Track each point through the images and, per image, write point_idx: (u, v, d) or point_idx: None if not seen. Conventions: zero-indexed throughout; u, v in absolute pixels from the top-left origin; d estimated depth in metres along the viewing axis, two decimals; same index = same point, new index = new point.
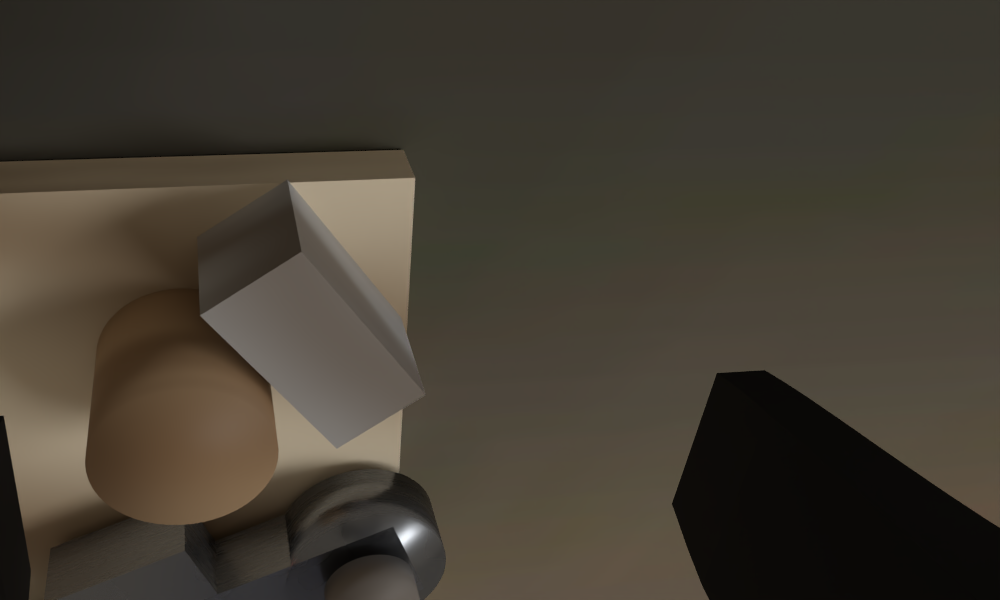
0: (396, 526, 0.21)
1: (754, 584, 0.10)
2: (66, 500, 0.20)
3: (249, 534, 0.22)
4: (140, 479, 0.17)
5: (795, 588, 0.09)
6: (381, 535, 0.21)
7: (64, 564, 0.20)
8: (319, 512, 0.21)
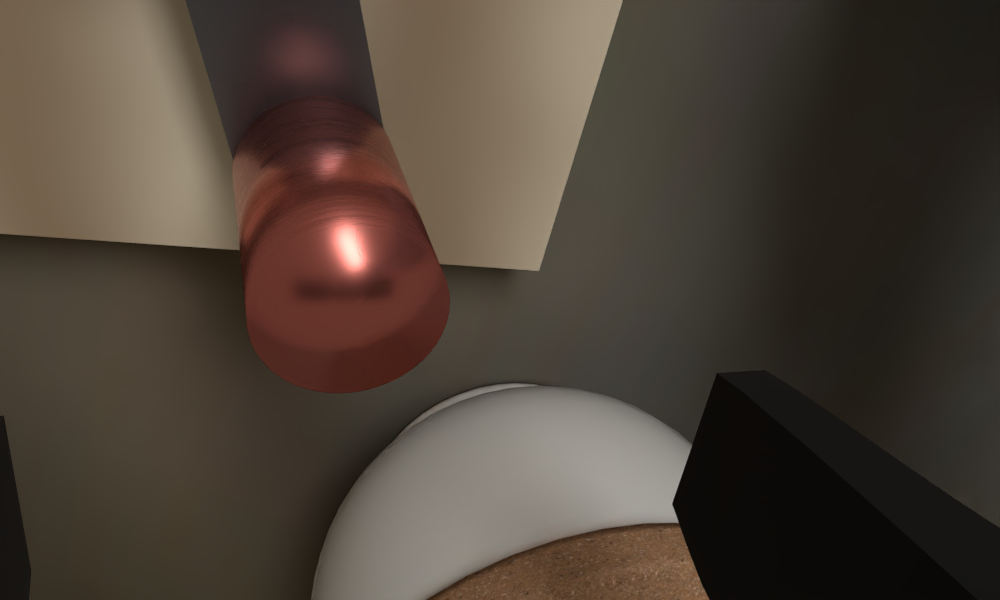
0: None
1: (754, 584, 0.10)
2: None
3: None
4: None
5: (795, 588, 0.09)
6: None
7: None
8: None
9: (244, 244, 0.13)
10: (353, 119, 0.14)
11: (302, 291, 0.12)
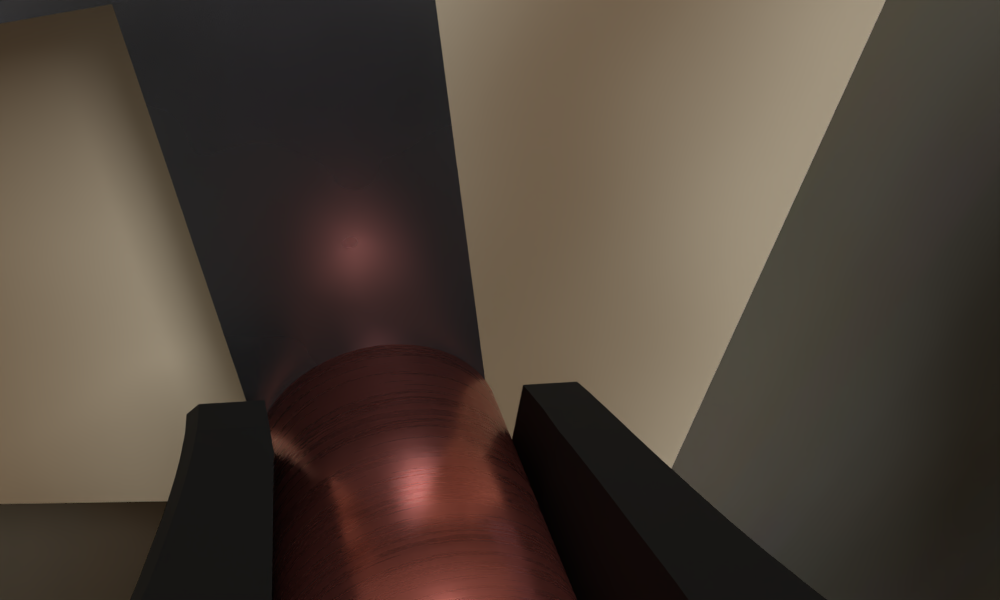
0: None
1: None
2: None
3: None
4: None
5: None
6: None
7: None
8: None
9: None
10: (448, 392, 0.09)
11: None
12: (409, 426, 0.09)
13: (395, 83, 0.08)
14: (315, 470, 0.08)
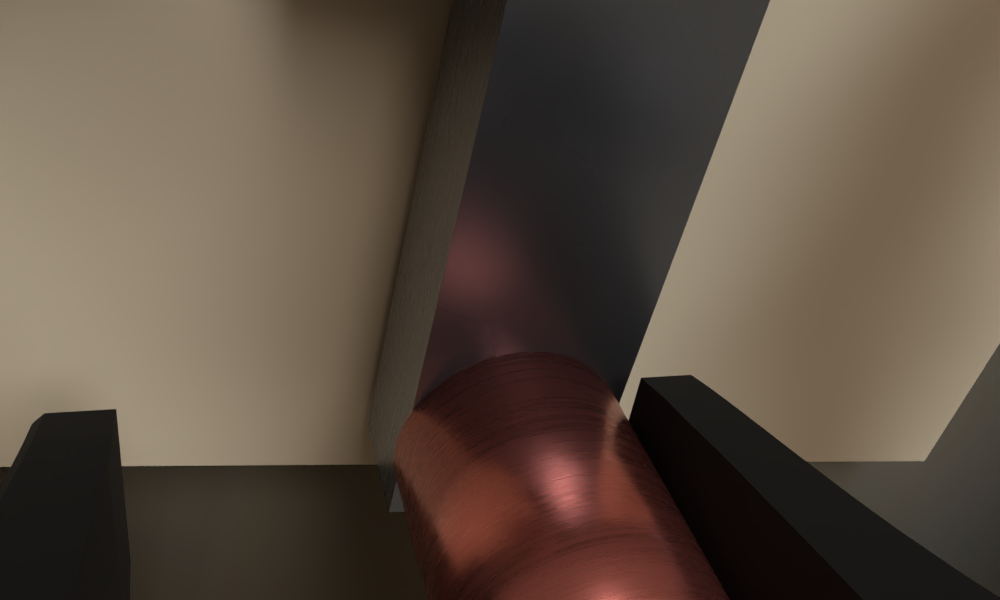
0: None
1: None
2: None
3: None
4: None
5: None
6: None
7: None
8: None
9: None
10: (616, 410, 0.10)
11: None
12: (598, 431, 0.09)
13: (682, 125, 0.09)
14: (511, 450, 0.09)
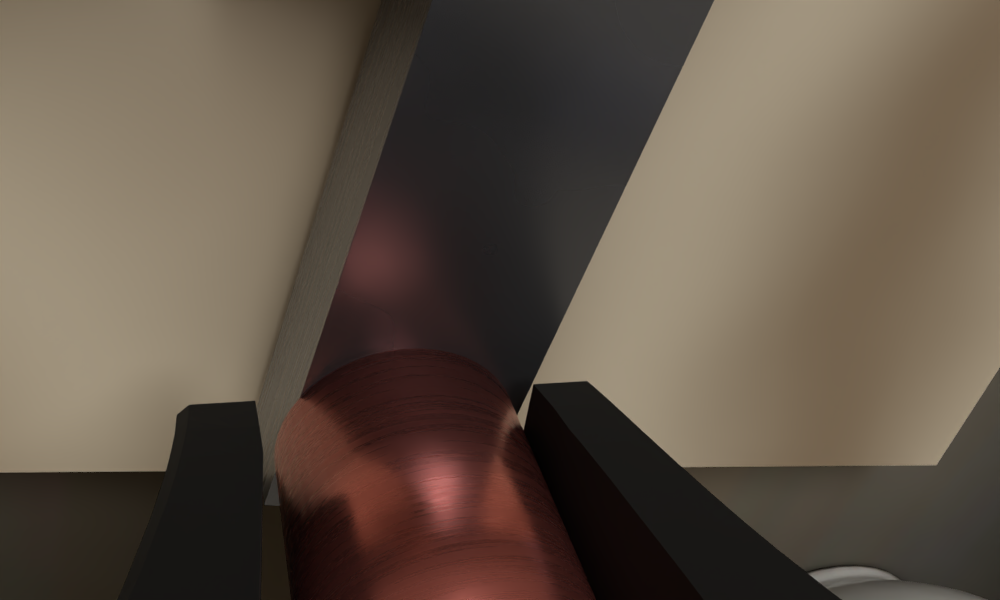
0: None
1: None
2: None
3: None
4: None
5: None
6: None
7: None
8: None
9: None
10: (511, 418, 0.10)
11: None
12: (489, 435, 0.09)
13: (608, 131, 0.09)
14: (396, 445, 0.08)
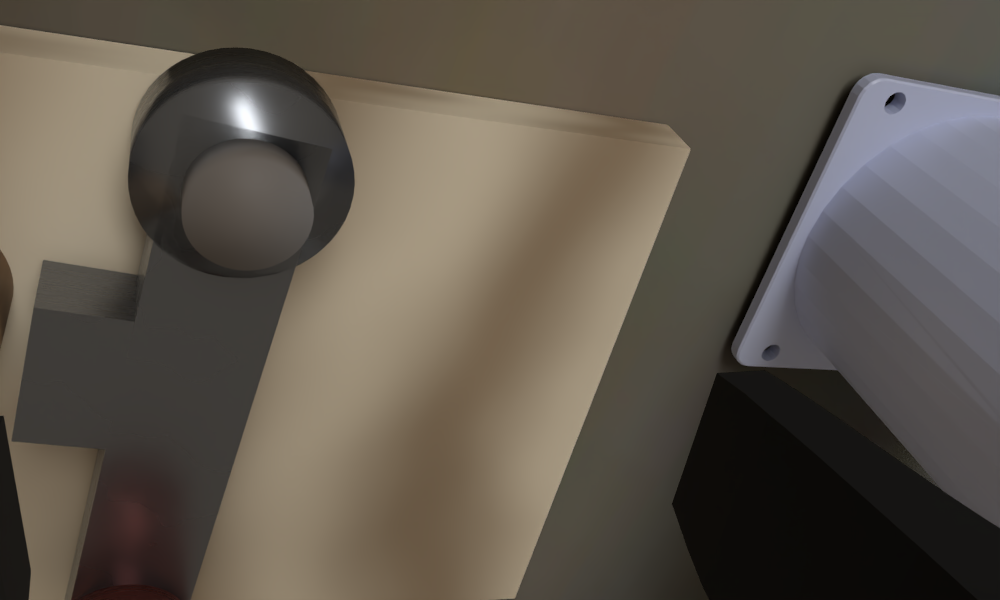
0: (186, 110, 0.15)
1: (754, 584, 0.10)
2: None
3: (145, 243, 0.17)
4: None
5: (795, 588, 0.09)
6: (186, 133, 0.15)
7: None
8: None
9: None
10: None
11: None
12: None
13: (201, 496, 0.19)
14: None
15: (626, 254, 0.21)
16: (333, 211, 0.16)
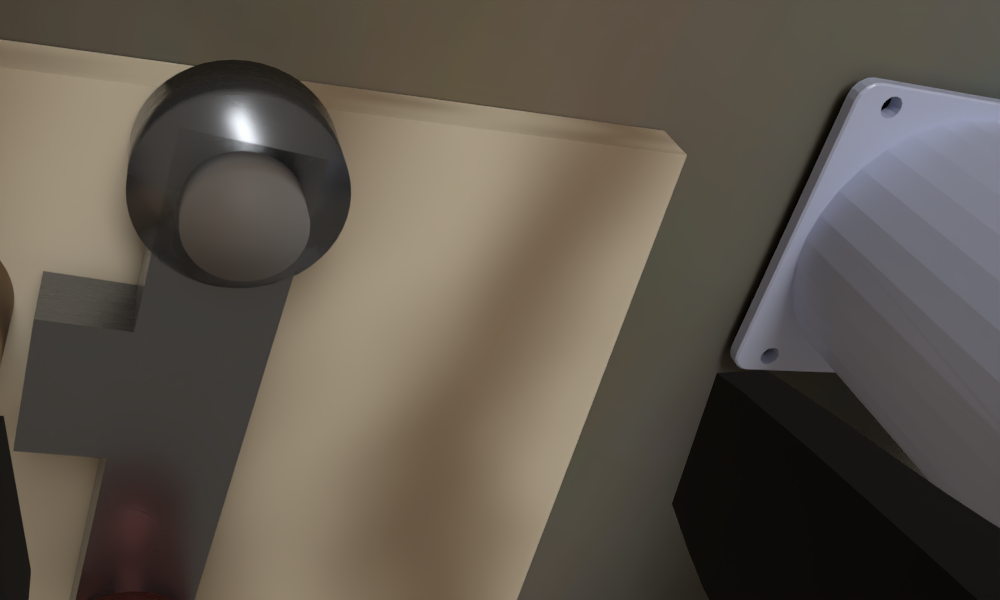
0: (182, 124, 0.15)
1: (754, 584, 0.10)
2: None
3: (144, 254, 0.17)
4: None
5: (795, 588, 0.09)
6: (183, 146, 0.15)
7: None
8: None
9: None
10: None
11: None
12: None
13: (201, 504, 0.19)
14: None
15: (623, 260, 0.21)
16: (330, 221, 0.17)
